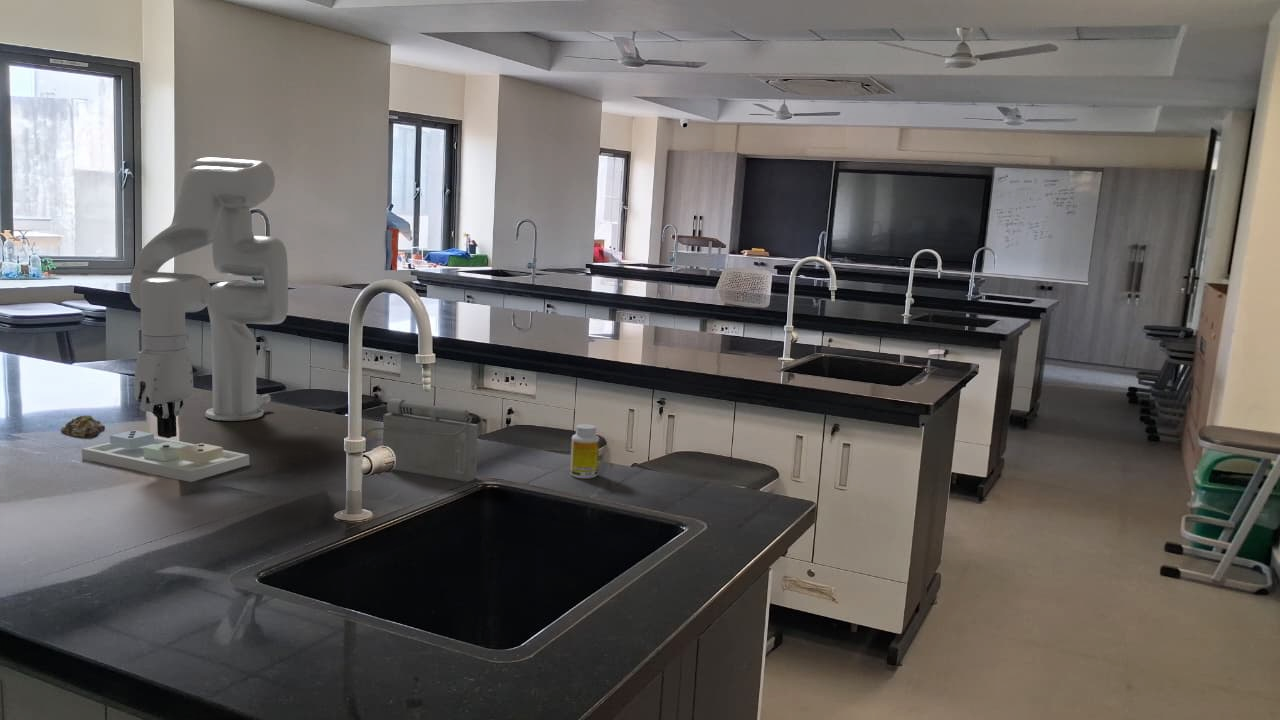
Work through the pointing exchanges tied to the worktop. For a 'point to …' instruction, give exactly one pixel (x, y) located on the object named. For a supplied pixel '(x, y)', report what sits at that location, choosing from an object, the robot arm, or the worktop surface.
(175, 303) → the robot arm
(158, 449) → the key one dot
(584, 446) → the supplement bottle
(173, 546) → the worktop surface
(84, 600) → the worktop surface
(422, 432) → the geiger counter
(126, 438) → the key three dots
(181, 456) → the key two dots
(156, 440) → the key panel
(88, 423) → the mineral rock
